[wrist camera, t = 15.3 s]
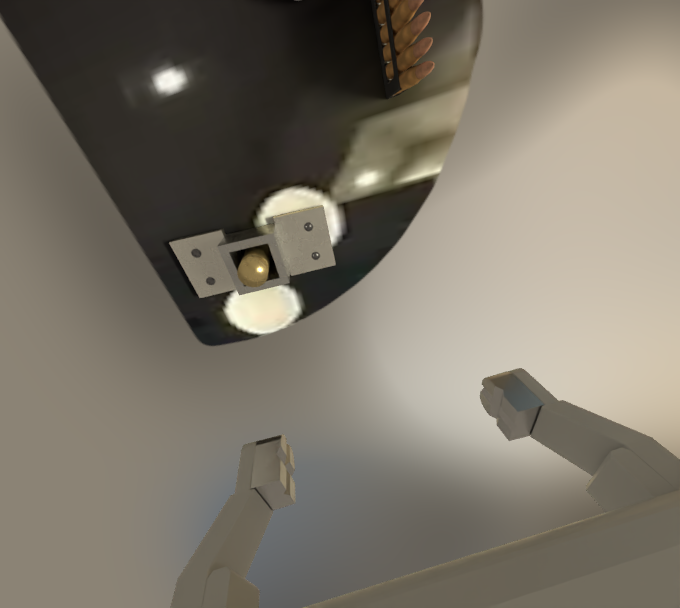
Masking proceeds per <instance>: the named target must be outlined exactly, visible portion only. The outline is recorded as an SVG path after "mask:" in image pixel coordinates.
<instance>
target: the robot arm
mask: <svg viewBox="0 0 680 608" xmlns="http://www.w3.org/2000/svg"><path fill="white" fill-rule="evenodd" d="M482 385H483V386H484V388H483V390H482V391H481V392H480V399H481V402H482V405H483V407H484V408H485V410H486V411H487V413H488V414H489V415H490V416H492V417H494V418H496V419H497V426H498V427H499V428H500V430H501V431H502V432H503V434H504V435H505V436H506V438H507V439H508V440H509V441H511V440H514V439H518V438H522V437H526V436H530V435H531V437H532V438H533V439H535V440H537V441H538V442H540V443H541V444H543V445H545V446H546V447H548V448H549V449H551V450H553V451H554V452H556V453H557V454H559V455H560V456H562V457H563V458H565V459H567V460H568V461H570V462H571V463H573V464H575V465H577V466H578V467H579V468H581V469H583V470H584V471H586V472H587V473H589V474H590V475H592V476H593V477H592V478H591V480H590V481H589V483H588V484H587V485H586V491H587V492H588V493H589V494H590V495H591V497H592V498H593V499H594V500H595V501H596V502H597V503H598V505H599V506H600V507H601V508H602V509H603V510H604V511H605V513H603V514H600V515H597V516H594V517H591V518H587V519H584V520H581V521H577V522H574V523H571V524H568V525H565V526H561V527H559V528H555V529H552V530H549V531H546V532H543V533H539V534H536V535H533V536H530V537H526V538H523V539H520V540H517V541H514V542H510V543H508V544H504V545H501V546H498V547H495V548H492V549H488V550H485V551H482V552H479V553H475V554H472V555H469V556H466V557H463V558H460V559H456V560H453V561H450V562H447V563H444V564H441V565H437V566H434V567H431V568H428V569H424V570H421V571H418V572H415V573H412V574H408V575H405V576H402V577H399V578H396V579H392V580H389V581H386V582H383V583H380V584H377V585H374V586H370V587H367V588H364V589H361V590H358V591H354V592H351V593H348V594H345V595H342V596H339V597H335V598H332V599H329V600H326V601H323V602H319V603H316V604H313V605H310V606H306V607H303V608H680V459H678V458H677V457H676V456H674V455H673V454H672V453H671V452H669V451H668V450H667V449H666V448H664V447H663V446H662V445H661V444H659V443H658V442H657V441H656V440H654V439H653V438H651V437H649V436H647V435H644V434H642V433H640V432H637V431H635V430H632V429H630V428H628V427H625V426H623V425H621V424H618V423H616V422H613V421H611V420H608V419H606V418H604V417H602V416H599V415H597V414H594V413H592V412H590V411H587V410H585V409H583V408H580V407H578V406H575V405H573V404H571V403H568V402H566V401H563V400H562V401H558V400H557V399H556V398H555V397H554V396H553V395H552V394H551V393H550V392H548V391H547V390H546V389H545V388H544V387H543V386H542V385H541V384H540V383H539V382H537V381H536V380H535V379H534V378H533V377H532V376H531V375H530V374H529V373H528V372H526V371H525V370H524V369H522V368H519V369H515V370H512V371H508V372H503V373H500V374H497V375H493V376H490V377H487V378H484V379H483V381H482ZM294 471H295V465H294V457H293V452H292V449H291V447H290V445H288V444H286V438H285V436H284V434H283V435H279V436H275V437H272V438H267V439H264V440H260V441H256V442H252V443H248V444H245V445H244V446H243V448H242V450H241V457H240V462H239V469H238V476H237V482H236V488H235V494H233V495H231V496H230V497H229V499H228V500H227V502H226V503H225V505H224V506H223V508H222V510H221V511H220V513H219V514H218V516H217V518H216V519H215V521H214V523H213V524H212V526H211V527H210V529H209V530H208V532H207V533H206V535H205V537H204V538H203V540H202V541H201V543H200V545H199V546H198V548H197V549H196V551H195V553H194V554H193V556H192V557H191V559H190V560H189V562H188V564H187V565H186V567H185V569H184V570H183V572H182V573H181V575H180V576H179V578H178V580H177V584H176V588H175V591H174V595H173V599H172V603H171V607H170V608H259V593H260V591H259V590H258V588H257V587H256V586H255V585H253V584H252V583H250V582H249V581H247V580H246V579H245V577H246V575H247V572H248V570H249V568H250V565H251V563H252V561H253V559H254V556H255V554H256V551H257V549H258V546H259V544H260V542H261V539H262V537H263V535H264V533H265V530H266V528H267V525H268V523H269V521H270V518H271V516H272V514H273V510H276V509H280V508H283V507H286V506H289V505H292V504H295V482H294V481H293V479H292V477H291V476H292V475H293V473H294Z"/></svg>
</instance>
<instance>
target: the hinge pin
mask: <svg viewBox="0 0 680 608" xmlns="http://www.w3.org/2000/svg"><path fill="white" fill-rule="evenodd" d="M270 258H271V251H270V248H269V246H268V245H267V244H263V245H259V246H254V247H250V248H246V251H245V253H244V255H243V258H242V260H241V263H240V265H239V268H238V271H237V275H238V278H239V280H240V281H241V282H242V283H243V284H244V285H246V286H249V287H259V286H261V285H263V284H264V283H265V282H266V280H267V277H268V271H269V264H270Z"/></svg>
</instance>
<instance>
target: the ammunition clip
mask: <svg viewBox="0 0 680 608" xmlns="http://www.w3.org/2000/svg"><path fill="white" fill-rule="evenodd" d="M423 1H424V0H371V5H372V11H373V17H374V24H375V30H376V36H377V42H378V49H379V55H380V61H381V67H382V74H383V80H384V86H385V92H386V98H387V99H389V98H392V97H395V96H397V95H399V94H401V93H402V92H404V91H405V90H407V89H408V88H410V87H411V86H413V85H415V84H417V83H418V82H419V81H420V80H421V79H423V78H424V77H425V76H427V75H428V74H429V73H430V72H431V71H432V69H433V67H434V62H432V61H427V62H424V63H422V64H419V65H417V66H413V67H412V65H414V64H415V63H416V62H417V61H418V59H419V58H421V57H422V56H423V55H424V54H425V53H426V52H427V51H428V50H429V48H430V47H431V45H432V41H433V40H432V38H424V39H422V40H420V41H419V42H417V43H415V44H413V45H410V44H412V43H413V42H414V40H415V39H416V38H417V36H418V35H419V34H420V33H421V32H422V31H423V29H424V28H425V27H426V25H427V24H428V22H429V20H430V16H431V13H430V12H424V13H422V14H420V15H419V16H417V17H416V18H415V19H414V20H412V21H411V22H409V21H410V20H411V19H412V17H413V16H414V14H415V12H416V10H417V9H418V8H419V6H420V5H421V4H422V2H423ZM408 22H409V23H408ZM409 45H410V46H409ZM402 51H403V52H402ZM406 69H407V70H406ZM405 70H406V71H405ZM404 71H405V72H404ZM402 72H403V73H402ZM401 73H402V74H401Z"/></svg>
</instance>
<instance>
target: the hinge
mask: <svg viewBox="0 0 680 608" xmlns="http://www.w3.org/2000/svg"><path fill="white" fill-rule="evenodd" d="M273 220H274V223H272V224H268V225H264V226H260V227H255V228H251V229H247V230H242V231H238V232H234V233H230V234H225V232H224V229H223V228H222V229H217V230H213V231H209V232H204V233H200V234H196V235H192V236H187V237H183V238H179V239H174V240H171V241H170V242H169V244H170V246H171V248H172V249H173V251H174V253H175V255H176V256H177V258H178V260H179V262H180V264H181V265H182V267H183V269H184V271H185V273H186V274H187V276H188V278H189V280H190V281H191V283H192V285H193V287H194V289H195V290H196V292H197V294H198V296H199V298H203V297H207V296H211V295H215V294H219V293H223V292H227V291H231V290H235V289H237V291H238V293H239V295H242V294H246V293H251V292H255V291H259V290H263V289H267V288H271V287H275V286H279V285H283V284H287V283H290V274H291V276H292V275H297V274H301V273H305V272H309V271H313V270H317V269H321V268H325V267H329V266H333V265H336V264H335V259H334V255H333V250H332V245H331V240H330V236H329V231H328V226H327V221H326V216H325V212H324V207H323V205H321V206H317V207H312V208H308V209H304V210H299V211H295V212H291V213H286V214H282V215H278V216H273ZM267 243H268V245H269V248H270V251H271V253H272V256H273V259H274V262H275V265H272V266H269V271H268V277H267V280H266V282H265V283H264V284H263V285H261V286H259V287H249V286H246V285H244V284H243V283H242V282H241V281H240V280H239V278H238V275H237V271H238V268H239V265H240V263H241V260H242V258H243V255H242V253H241V251H240V250H242V249H246V248H250V247H254V246H259V245H263V244H267Z"/></svg>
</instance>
